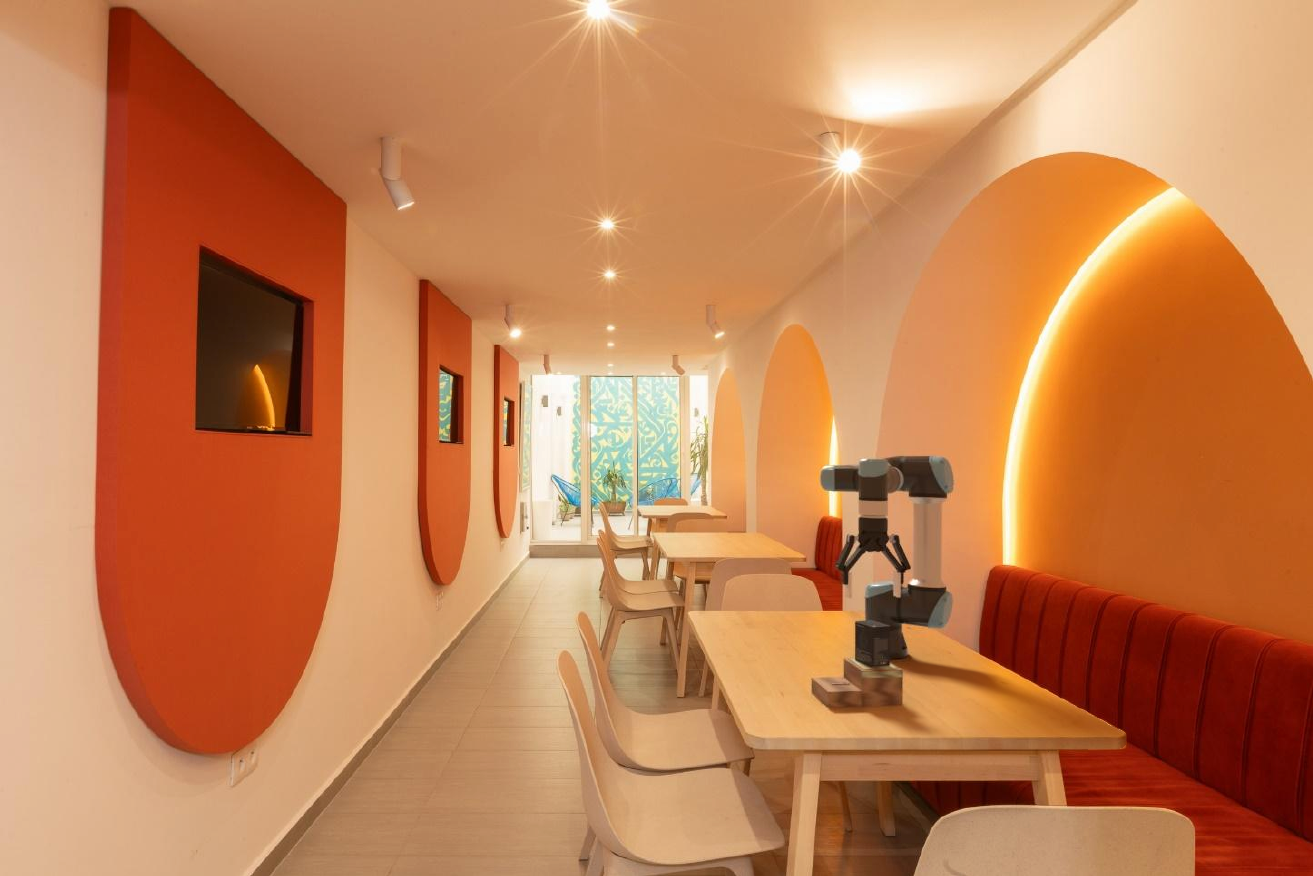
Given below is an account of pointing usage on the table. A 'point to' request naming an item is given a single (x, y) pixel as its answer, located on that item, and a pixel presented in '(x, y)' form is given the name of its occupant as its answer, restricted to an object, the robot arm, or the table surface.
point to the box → (872, 643)
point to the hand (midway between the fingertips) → (872, 597)
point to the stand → (861, 686)
